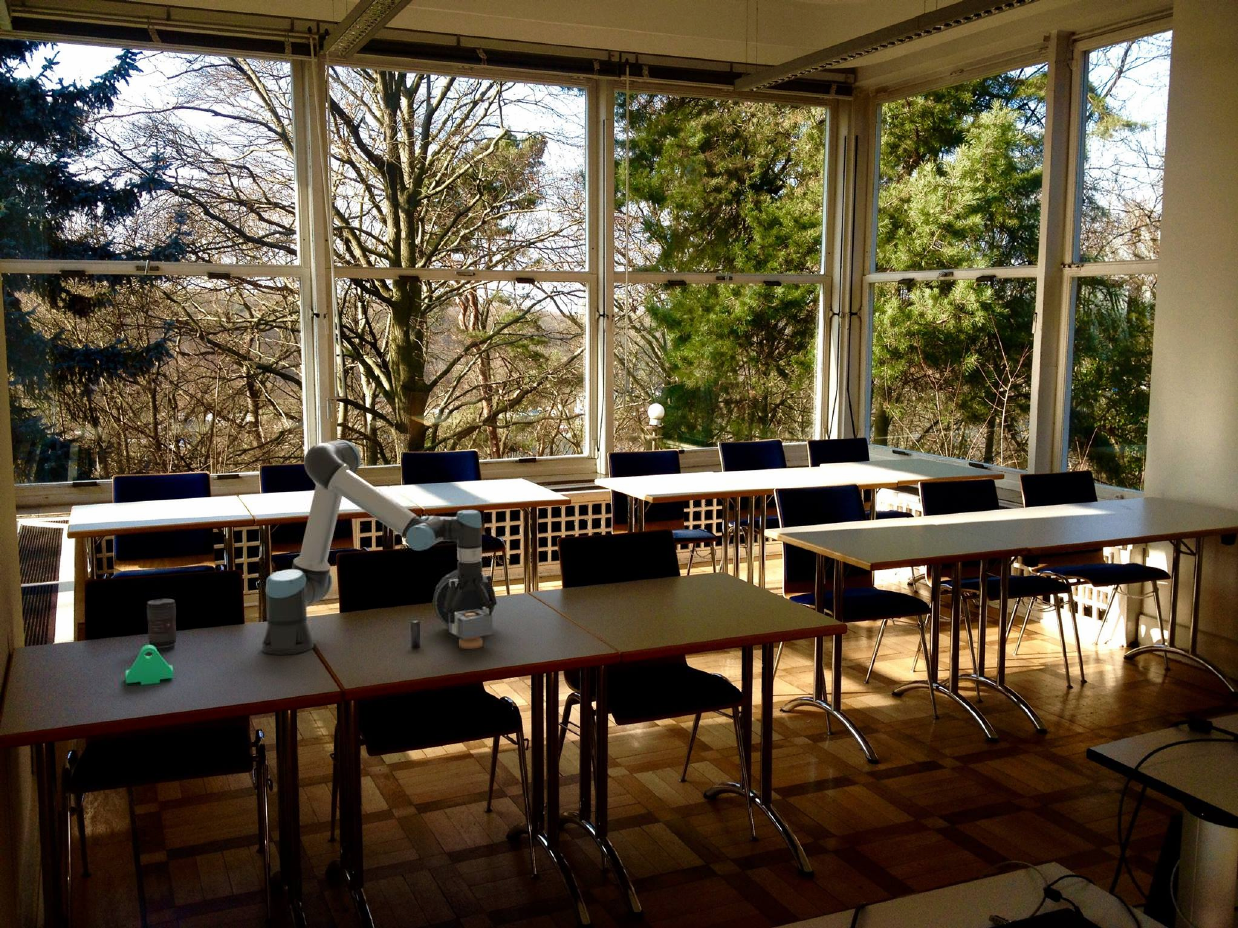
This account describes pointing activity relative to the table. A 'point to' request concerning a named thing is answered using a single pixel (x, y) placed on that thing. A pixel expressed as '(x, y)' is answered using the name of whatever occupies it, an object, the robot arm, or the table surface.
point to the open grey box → (473, 624)
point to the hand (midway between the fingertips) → (470, 630)
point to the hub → (470, 639)
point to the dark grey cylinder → (162, 624)
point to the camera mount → (149, 667)
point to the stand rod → (415, 634)
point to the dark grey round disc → (468, 600)
